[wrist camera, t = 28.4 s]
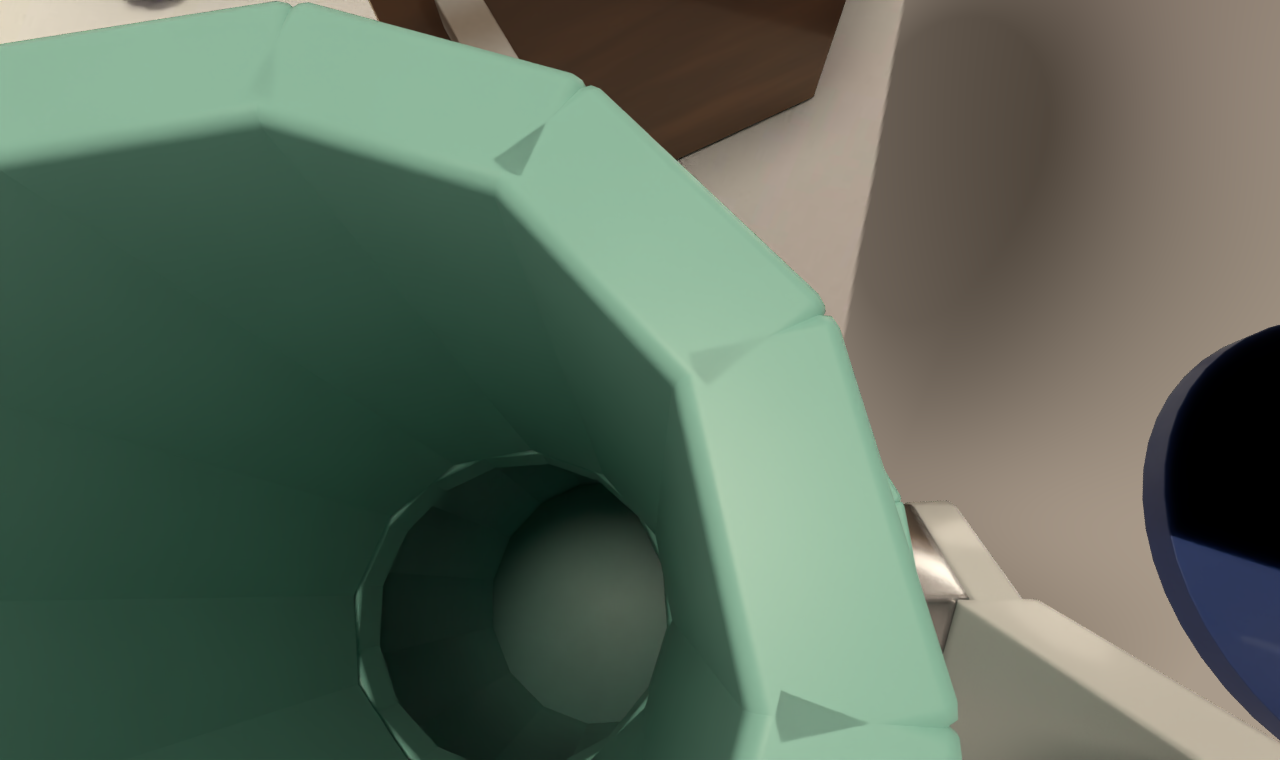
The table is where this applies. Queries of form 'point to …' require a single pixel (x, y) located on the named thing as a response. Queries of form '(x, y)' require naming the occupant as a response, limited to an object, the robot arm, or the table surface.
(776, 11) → the cupboard door
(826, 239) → the table surface
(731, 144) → the table surface
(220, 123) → the vase
